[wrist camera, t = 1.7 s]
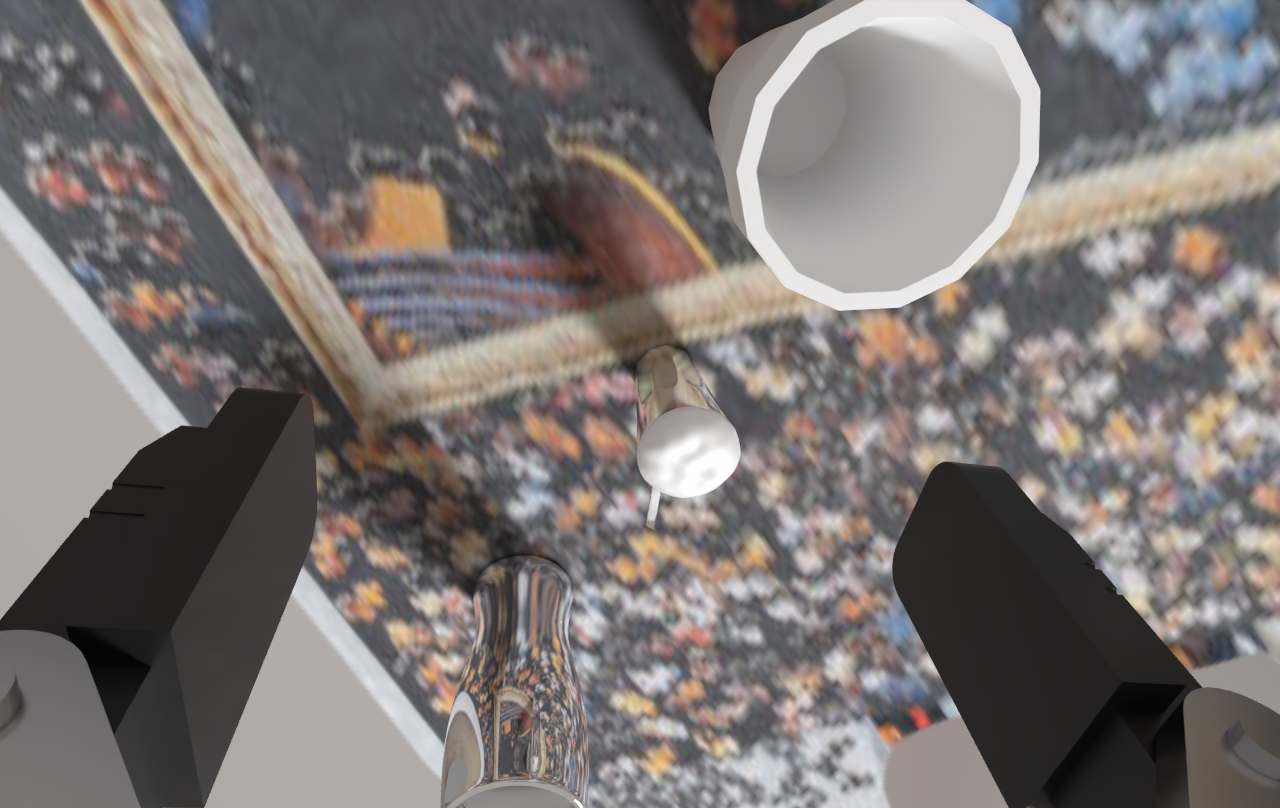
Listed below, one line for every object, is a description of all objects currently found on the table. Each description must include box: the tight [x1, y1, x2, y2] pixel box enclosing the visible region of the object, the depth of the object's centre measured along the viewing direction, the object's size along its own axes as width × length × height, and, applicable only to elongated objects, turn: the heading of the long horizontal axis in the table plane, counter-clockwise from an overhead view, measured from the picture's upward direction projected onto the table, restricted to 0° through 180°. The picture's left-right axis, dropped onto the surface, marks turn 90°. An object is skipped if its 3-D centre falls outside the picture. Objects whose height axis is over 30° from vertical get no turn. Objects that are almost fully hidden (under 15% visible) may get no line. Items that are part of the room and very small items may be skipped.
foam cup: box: [708, 0, 1040, 311], centre depth 29 cm, size 10×9×13 cm
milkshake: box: [635, 345, 740, 529], centre depth 36 cm, size 5×5×10 cm
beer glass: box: [440, 555, 589, 808], centre depth 40 cm, size 7×7×15 cm
